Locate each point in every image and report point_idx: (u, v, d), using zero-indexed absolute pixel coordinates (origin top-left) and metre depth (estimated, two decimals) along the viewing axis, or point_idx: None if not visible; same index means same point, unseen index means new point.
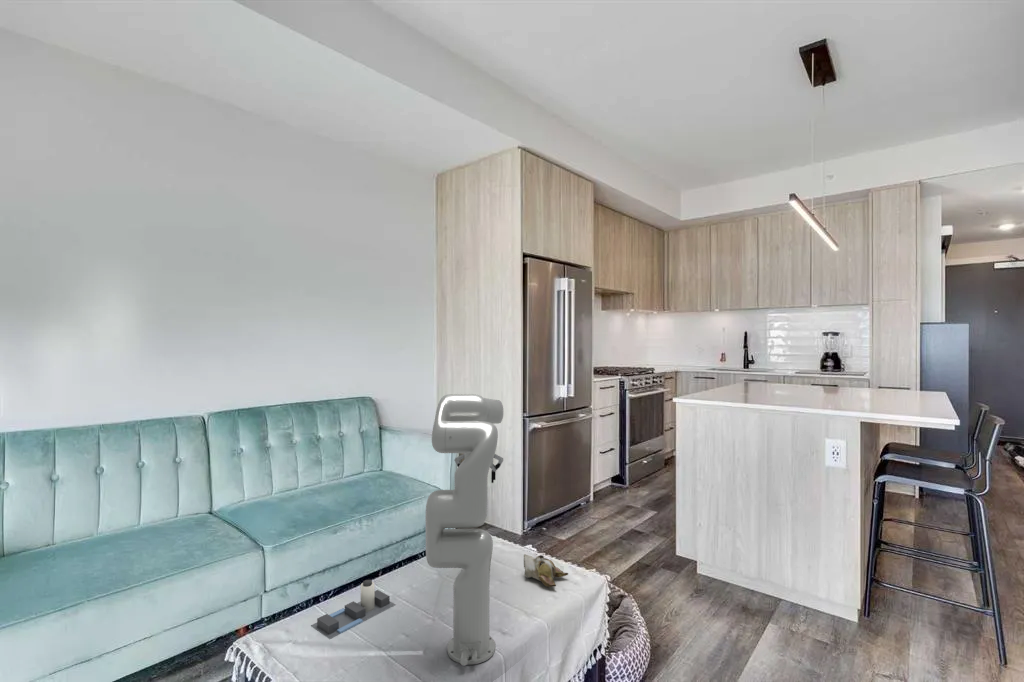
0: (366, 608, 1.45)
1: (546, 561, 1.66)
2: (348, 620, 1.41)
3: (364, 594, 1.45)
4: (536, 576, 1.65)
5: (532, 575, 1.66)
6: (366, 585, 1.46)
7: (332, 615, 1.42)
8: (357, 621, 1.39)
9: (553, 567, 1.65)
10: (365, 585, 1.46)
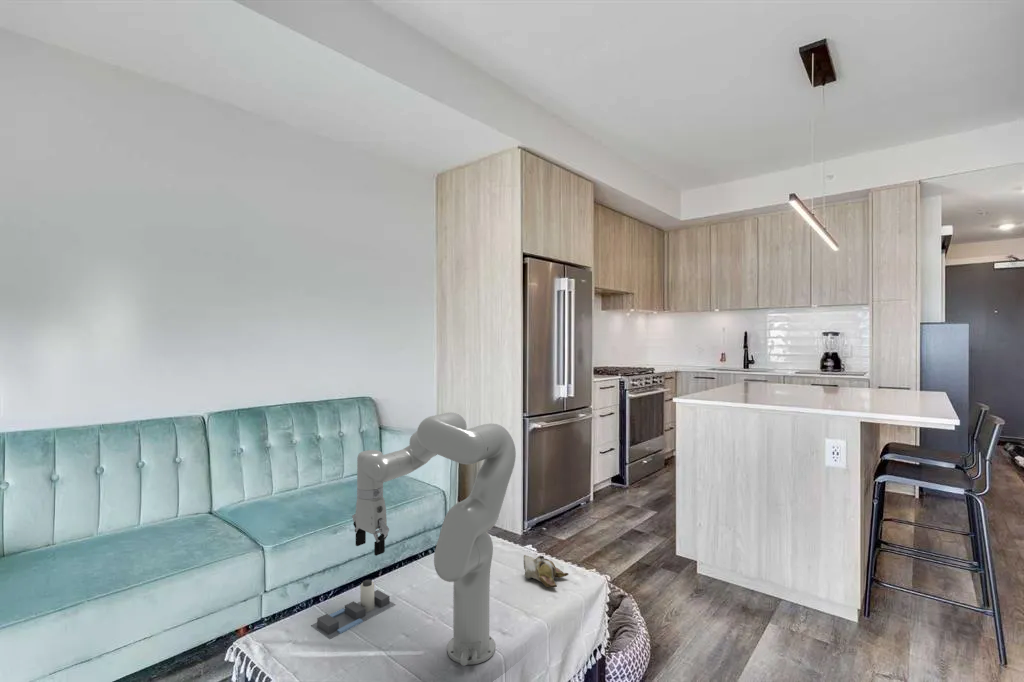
0: (366, 608, 1.45)
1: (546, 561, 1.65)
2: (348, 620, 1.41)
3: (364, 594, 1.45)
4: (536, 577, 1.64)
5: (532, 576, 1.65)
6: (366, 585, 1.46)
7: (332, 615, 1.42)
8: (357, 621, 1.39)
9: (553, 567, 1.65)
10: (365, 585, 1.46)
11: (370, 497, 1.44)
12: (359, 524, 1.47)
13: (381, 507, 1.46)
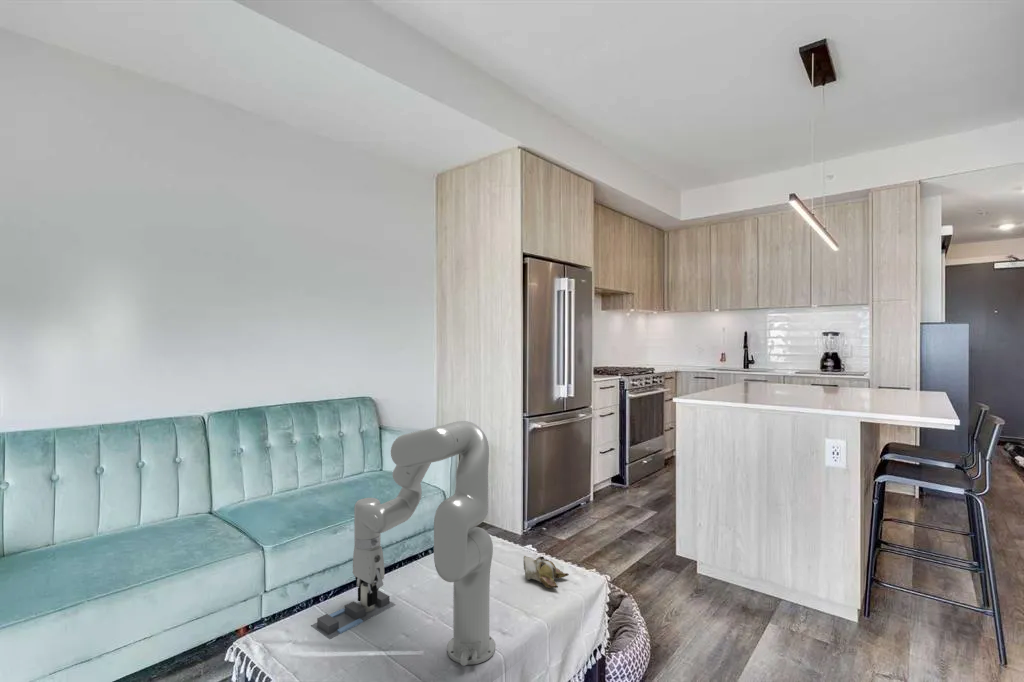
0: (366, 608, 1.45)
1: (547, 562, 1.65)
2: (348, 620, 1.41)
3: (364, 594, 1.45)
4: (537, 577, 1.64)
5: (533, 577, 1.65)
6: (366, 585, 1.46)
7: (332, 615, 1.42)
8: (357, 621, 1.39)
9: (554, 568, 1.64)
10: (365, 585, 1.46)
11: (368, 547, 1.43)
12: (356, 573, 1.47)
13: (379, 556, 1.45)
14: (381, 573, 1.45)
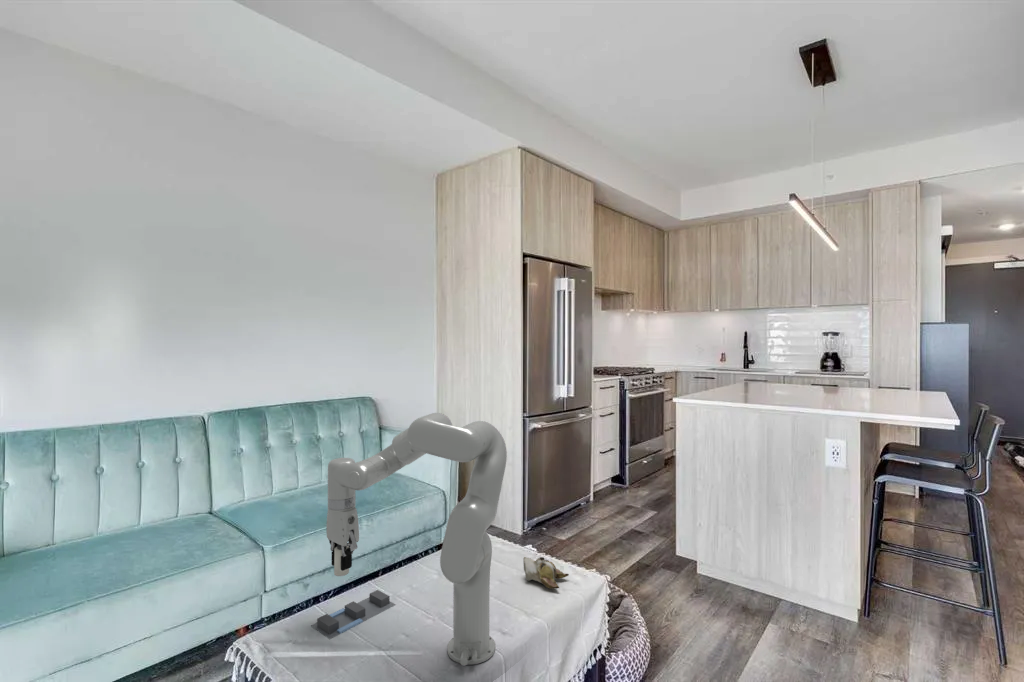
0: (340, 572, 1.38)
1: (547, 563, 1.64)
2: (348, 620, 1.41)
3: (338, 557, 1.38)
4: (537, 578, 1.63)
5: (533, 578, 1.64)
6: (340, 548, 1.39)
7: (332, 615, 1.42)
8: (357, 621, 1.39)
9: (554, 569, 1.64)
10: (339, 548, 1.39)
11: (341, 507, 1.37)
12: (330, 536, 1.40)
13: (353, 518, 1.38)
14: (355, 535, 1.38)
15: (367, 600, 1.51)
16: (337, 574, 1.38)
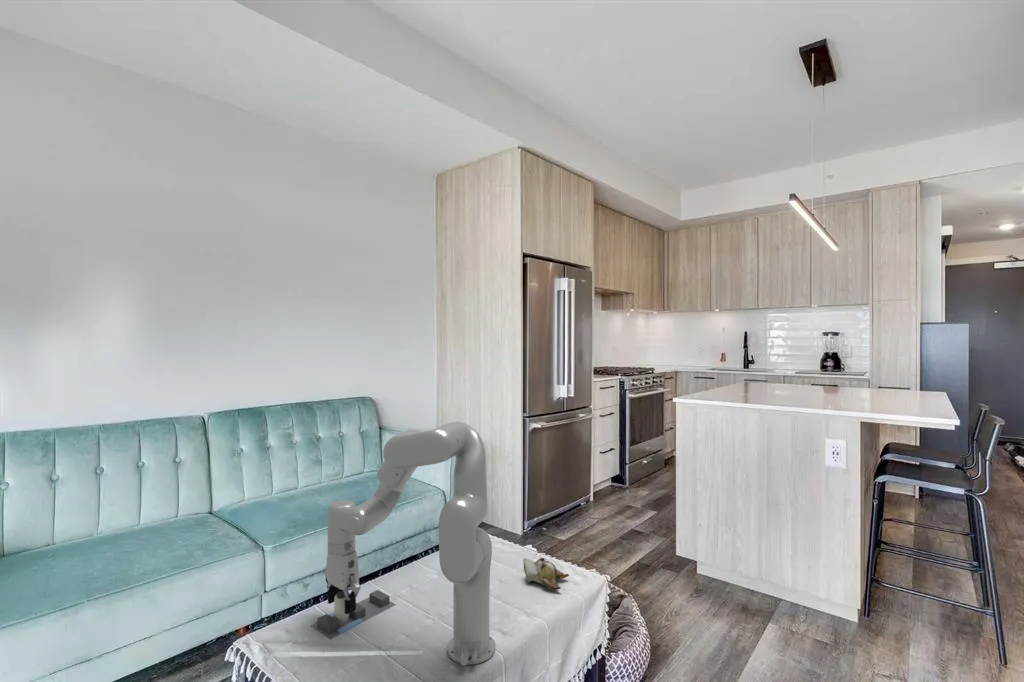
0: (340, 621, 1.38)
1: (548, 564, 1.64)
2: None
3: (338, 606, 1.38)
4: (538, 580, 1.62)
5: (534, 579, 1.63)
6: (340, 597, 1.39)
7: (332, 615, 1.42)
8: (357, 621, 1.39)
9: (555, 569, 1.63)
10: (339, 597, 1.39)
11: (341, 552, 1.37)
12: (330, 579, 1.40)
13: (353, 561, 1.38)
14: (355, 579, 1.38)
15: (367, 600, 1.51)
16: None
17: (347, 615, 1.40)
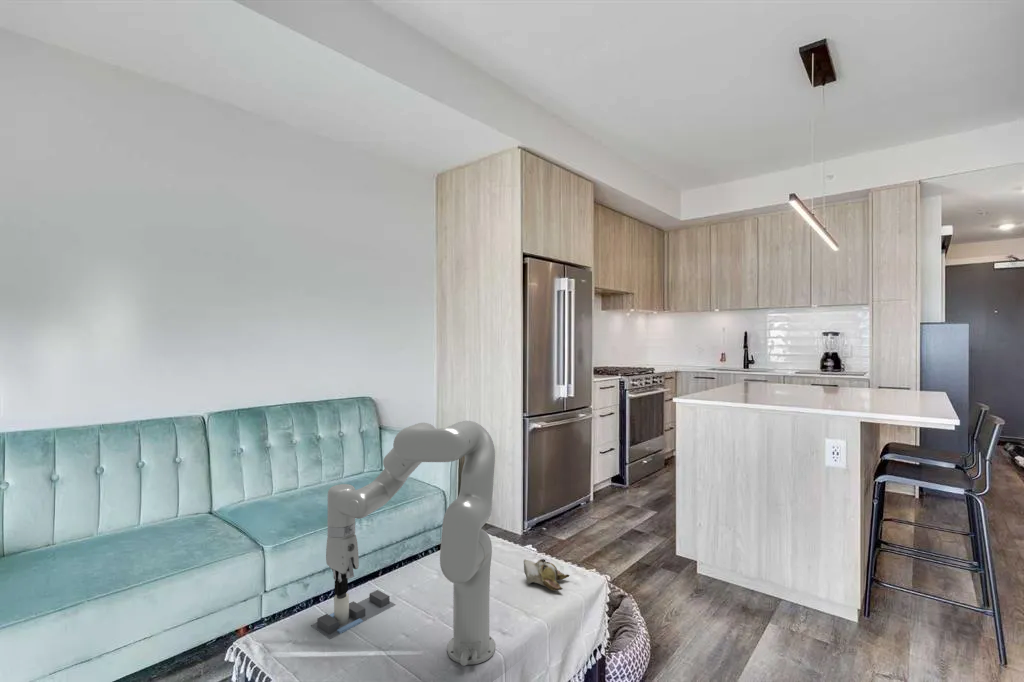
0: (340, 621, 1.38)
1: (549, 565, 1.63)
2: None
3: (338, 606, 1.38)
4: (539, 581, 1.61)
5: (535, 580, 1.62)
6: (340, 597, 1.39)
7: (332, 615, 1.42)
8: (357, 621, 1.39)
9: (556, 570, 1.63)
10: (339, 597, 1.39)
11: (341, 535, 1.37)
12: (330, 563, 1.40)
13: (353, 545, 1.38)
14: (355, 563, 1.38)
15: (367, 600, 1.51)
16: None
17: (347, 615, 1.40)
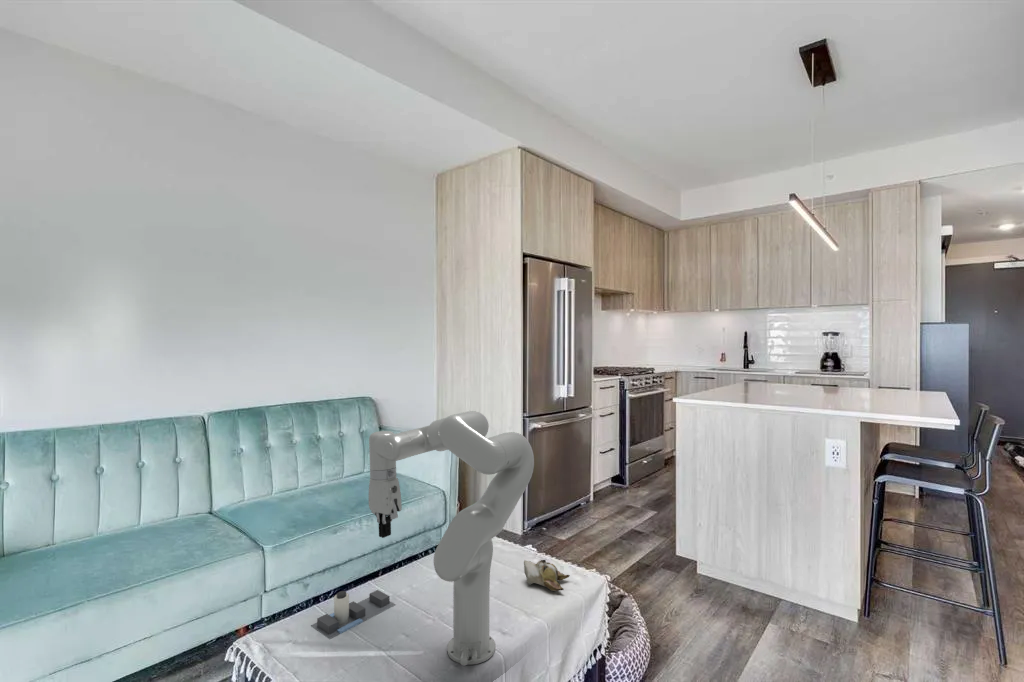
0: (340, 621, 1.38)
1: (549, 565, 1.63)
2: None
3: (338, 606, 1.38)
4: (540, 581, 1.61)
5: (535, 581, 1.62)
6: (340, 597, 1.39)
7: (332, 615, 1.42)
8: (357, 621, 1.39)
9: (556, 570, 1.62)
10: (339, 597, 1.39)
11: (384, 477, 1.42)
12: (373, 506, 1.45)
13: (395, 487, 1.44)
14: (398, 504, 1.43)
15: (367, 600, 1.51)
16: None
17: (347, 615, 1.40)
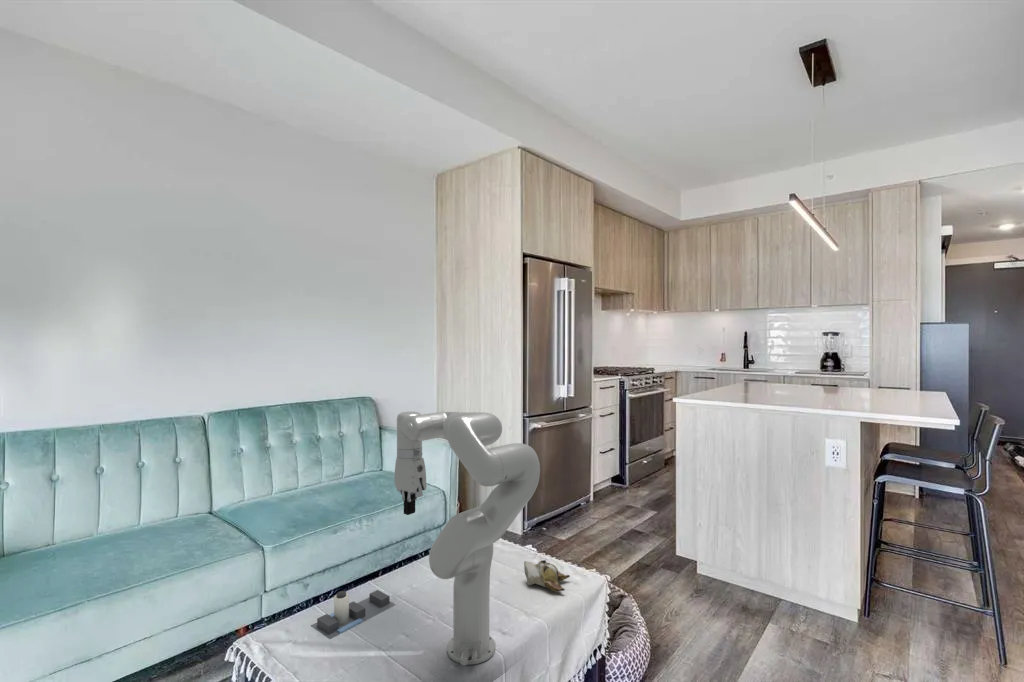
0: (340, 621, 1.38)
1: (550, 566, 1.62)
2: None
3: (337, 606, 1.38)
4: (541, 582, 1.60)
5: (536, 582, 1.61)
6: (340, 597, 1.39)
7: (332, 615, 1.42)
8: (357, 621, 1.39)
9: (557, 571, 1.62)
10: (338, 597, 1.39)
11: (411, 456, 1.45)
12: (399, 484, 1.49)
13: (421, 467, 1.47)
14: (423, 483, 1.47)
15: (367, 600, 1.51)
16: None
17: (347, 615, 1.40)
